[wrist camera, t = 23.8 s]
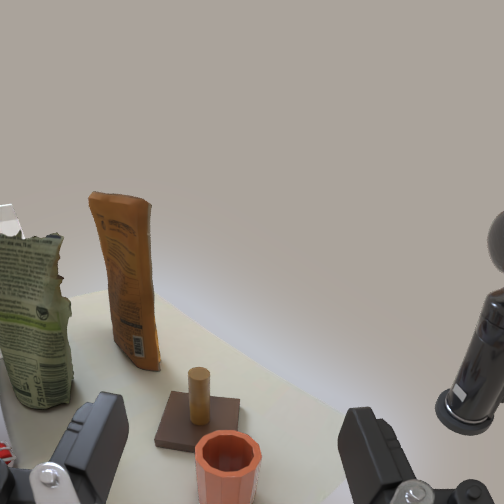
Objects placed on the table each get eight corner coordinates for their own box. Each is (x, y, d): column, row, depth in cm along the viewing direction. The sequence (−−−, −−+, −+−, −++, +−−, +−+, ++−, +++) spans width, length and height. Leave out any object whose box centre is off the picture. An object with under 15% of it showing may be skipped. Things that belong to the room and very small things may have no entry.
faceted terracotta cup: (261, 486, 29) (270, 441, 27) (240, 524, 24) (246, 486, 21) (213, 469, 31) (213, 422, 29) (188, 504, 26) (182, 461, 23)
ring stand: (239, 405, 43) (243, 354, 41) (234, 457, 34) (238, 405, 31) (172, 397, 43) (168, 346, 41) (155, 446, 34) (146, 393, 31)
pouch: (10, 380, 38) (-26, 229, 31) (69, 361, 47) (47, 217, 40) (27, 423, 31) (-26, 248, 24) (95, 398, 40) (68, 231, 33)
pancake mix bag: (141, 385, 45) (128, 201, 37) (97, 331, 58) (86, 188, 50) (176, 371, 50) (174, 197, 42) (126, 323, 62) (120, 185, 54)
